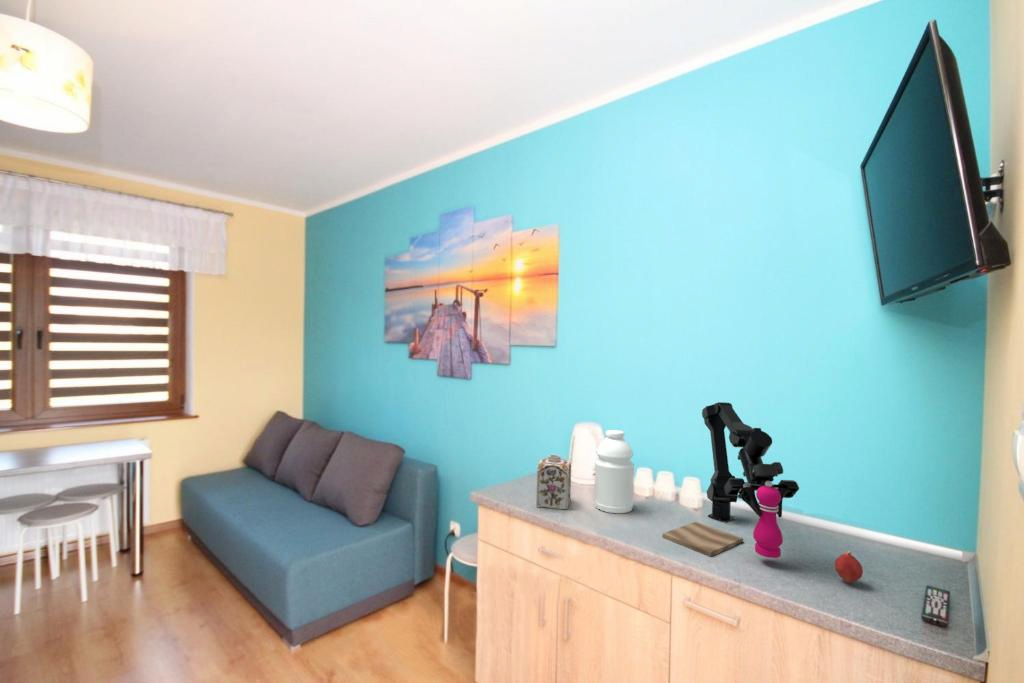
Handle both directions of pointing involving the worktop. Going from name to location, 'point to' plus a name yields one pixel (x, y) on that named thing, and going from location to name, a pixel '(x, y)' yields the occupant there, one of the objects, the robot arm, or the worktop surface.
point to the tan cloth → (702, 538)
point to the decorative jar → (553, 482)
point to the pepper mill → (768, 522)
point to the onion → (848, 567)
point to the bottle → (614, 474)
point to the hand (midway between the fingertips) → (770, 516)
